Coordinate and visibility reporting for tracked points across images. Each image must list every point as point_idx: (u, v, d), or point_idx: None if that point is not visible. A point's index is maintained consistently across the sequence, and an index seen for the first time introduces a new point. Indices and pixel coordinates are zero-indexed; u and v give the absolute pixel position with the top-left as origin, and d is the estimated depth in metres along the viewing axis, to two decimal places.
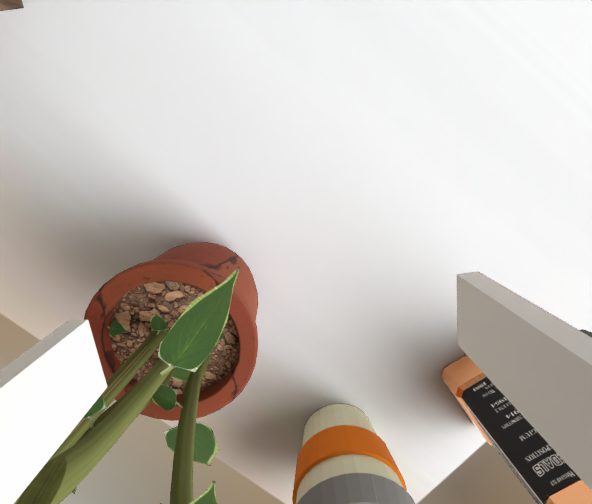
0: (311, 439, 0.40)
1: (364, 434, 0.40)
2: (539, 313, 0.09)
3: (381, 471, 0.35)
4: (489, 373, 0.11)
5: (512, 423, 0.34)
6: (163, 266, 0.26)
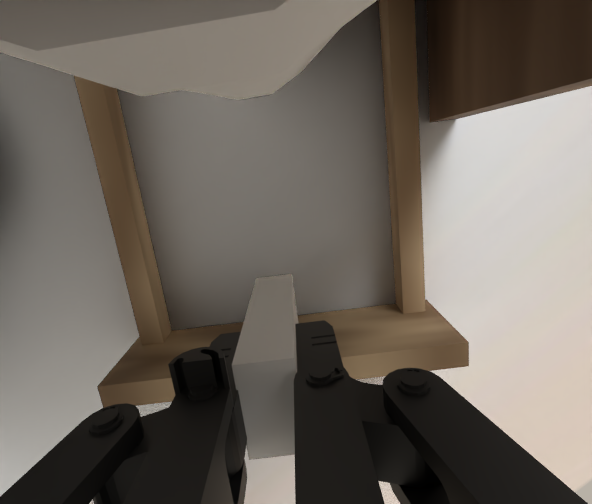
0: None
1: None
2: (285, 306, 0.11)
3: None
4: None
5: None
6: None
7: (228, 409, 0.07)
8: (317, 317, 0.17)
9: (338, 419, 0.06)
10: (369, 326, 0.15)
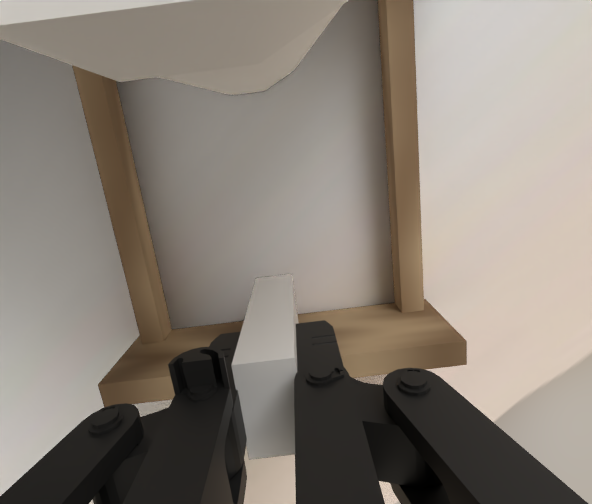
0: None
1: None
2: (285, 306, 0.11)
3: None
4: None
5: None
6: None
7: (228, 409, 0.07)
8: (316, 316, 0.17)
9: (338, 419, 0.06)
10: (367, 325, 0.16)
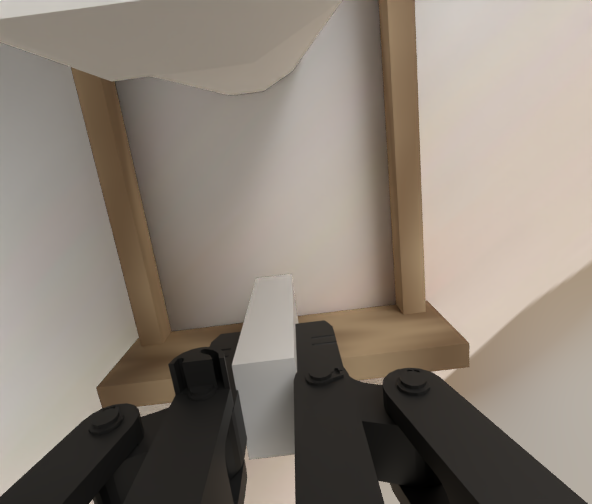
0: None
1: None
2: (285, 307, 0.11)
3: None
4: None
5: None
6: None
7: (228, 409, 0.07)
8: (317, 318, 0.17)
9: (338, 419, 0.06)
10: (369, 327, 0.15)
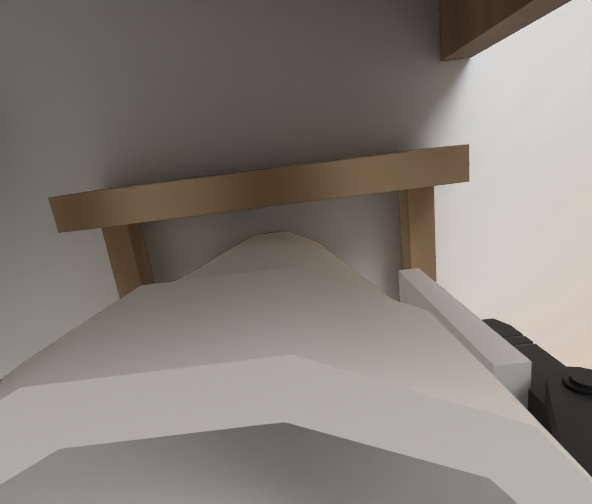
0: None
1: None
2: (452, 303, 0.10)
3: None
4: None
5: None
6: None
7: None
8: None
9: None
10: None
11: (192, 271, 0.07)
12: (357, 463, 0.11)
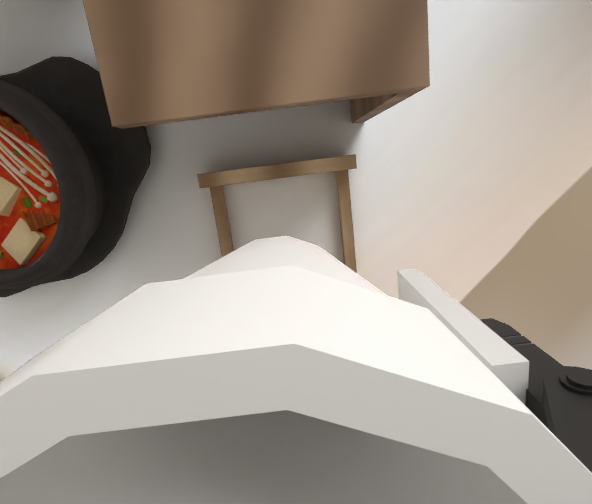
0: None
1: None
2: (450, 303, 0.10)
3: None
4: None
5: None
6: None
7: None
8: None
9: None
10: None
11: (195, 272, 0.07)
12: (359, 466, 0.11)
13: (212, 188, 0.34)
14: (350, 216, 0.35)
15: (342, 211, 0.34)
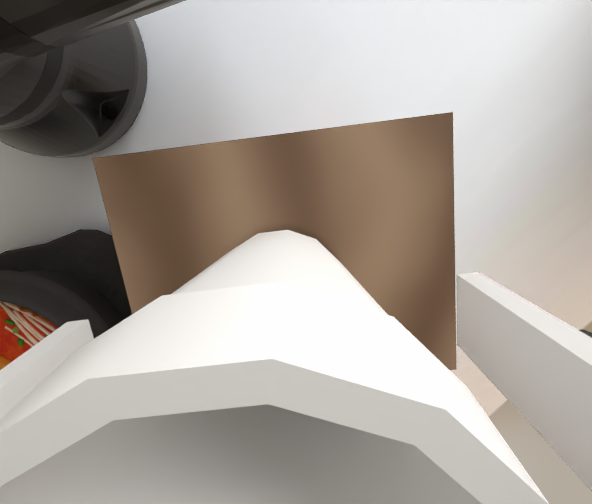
0: None
1: None
2: (538, 313, 0.09)
3: None
4: (488, 373, 0.11)
5: None
6: None
7: None
8: None
9: None
10: None
11: (202, 277, 0.08)
12: (348, 440, 0.12)
13: None
14: None
15: None
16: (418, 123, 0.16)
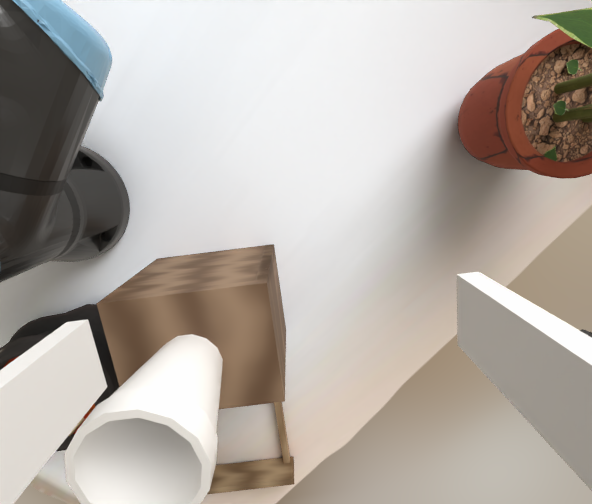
0: None
1: None
2: (539, 313, 0.09)
3: None
4: (489, 373, 0.11)
5: None
6: (510, 101, 0.32)
7: None
8: (259, 462, 0.58)
9: None
10: (272, 469, 0.56)
11: (136, 378, 0.26)
12: None
13: None
14: None
15: None
16: (251, 287, 0.34)
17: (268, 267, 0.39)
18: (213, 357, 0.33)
